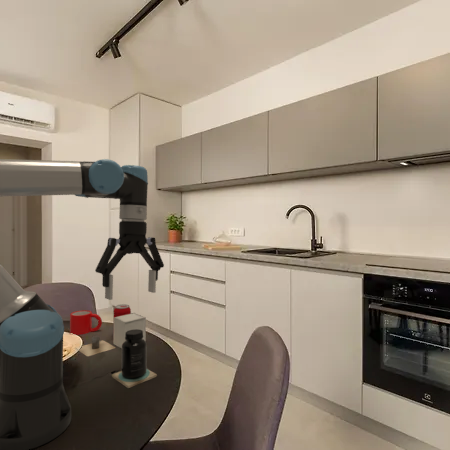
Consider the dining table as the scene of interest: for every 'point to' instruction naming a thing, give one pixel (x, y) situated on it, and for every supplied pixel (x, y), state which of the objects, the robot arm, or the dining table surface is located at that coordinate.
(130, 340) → the supplement bottle
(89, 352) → the board
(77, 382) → the dining table surface
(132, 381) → the board
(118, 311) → the beverage can
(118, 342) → the grey box
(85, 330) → the mug
